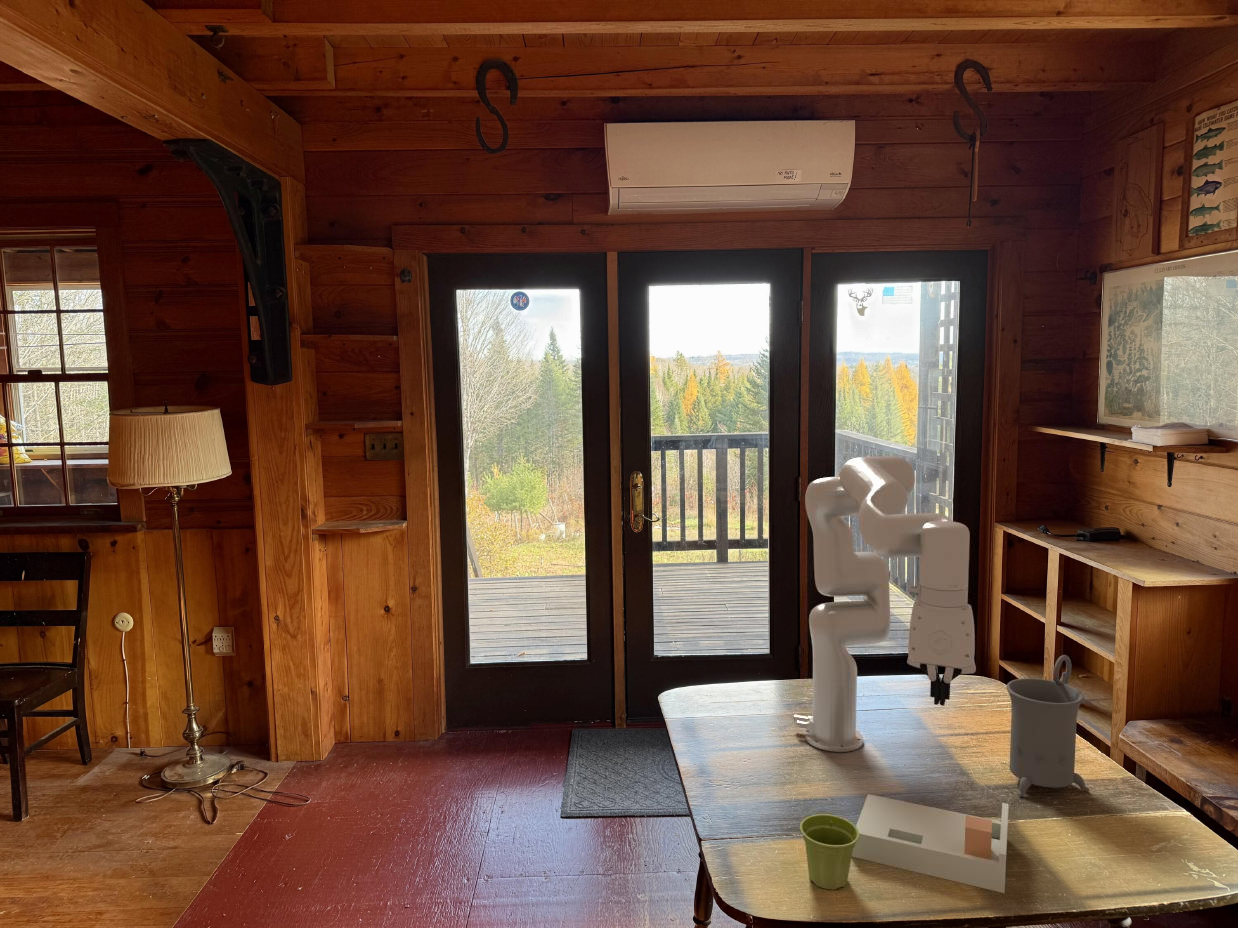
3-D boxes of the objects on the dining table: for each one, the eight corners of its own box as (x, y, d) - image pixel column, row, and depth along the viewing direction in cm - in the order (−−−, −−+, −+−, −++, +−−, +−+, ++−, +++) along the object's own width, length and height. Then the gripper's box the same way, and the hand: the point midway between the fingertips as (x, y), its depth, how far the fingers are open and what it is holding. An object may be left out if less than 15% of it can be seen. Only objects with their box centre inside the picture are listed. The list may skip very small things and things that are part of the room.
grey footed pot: (1057, 813, 155) (1063, 684, 152) (983, 782, 167) (987, 662, 164) (1103, 782, 166) (1109, 661, 164) (1030, 755, 178) (1035, 643, 175)
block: (964, 855, 137) (965, 827, 136) (965, 843, 141) (966, 815, 140) (990, 861, 135) (991, 832, 135) (990, 848, 139) (991, 820, 138)
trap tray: (850, 856, 142) (851, 820, 142) (867, 808, 158) (868, 776, 157) (1004, 893, 132) (1006, 854, 131) (1007, 838, 147) (1008, 803, 146)
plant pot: (859, 867, 139) (860, 818, 138) (856, 901, 130) (857, 849, 129) (802, 857, 142) (803, 809, 141) (796, 890, 133) (796, 839, 132)
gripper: (892, 596, 138) (890, 703, 140) (991, 606, 131) (987, 718, 133) (899, 586, 145) (896, 687, 147) (993, 595, 138) (989, 701, 140)
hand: (939, 701), depth 140 cm, fingers closed
